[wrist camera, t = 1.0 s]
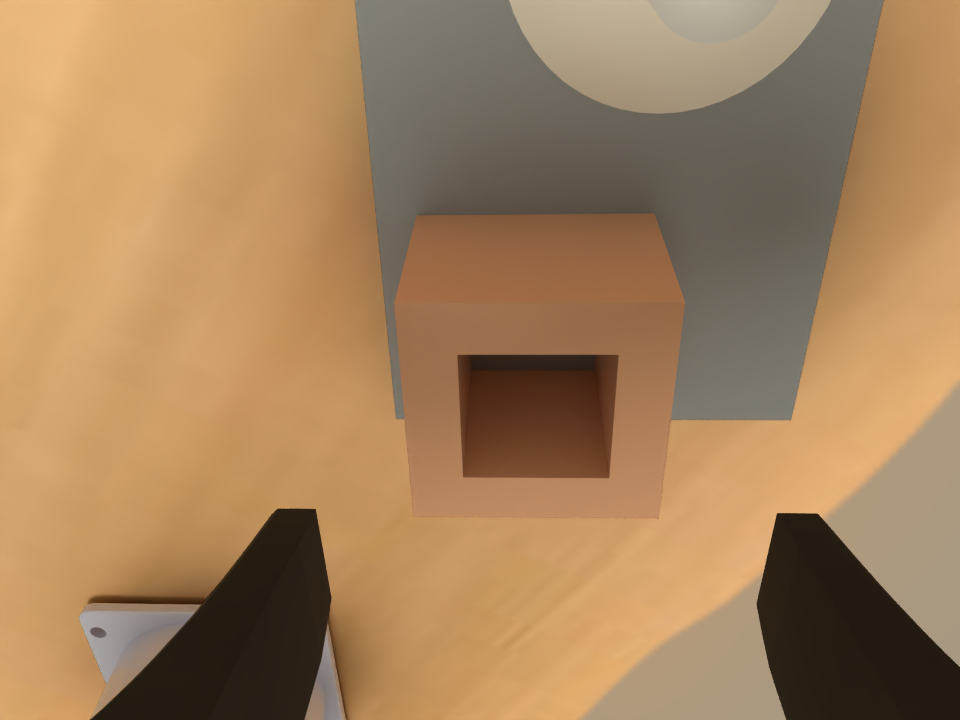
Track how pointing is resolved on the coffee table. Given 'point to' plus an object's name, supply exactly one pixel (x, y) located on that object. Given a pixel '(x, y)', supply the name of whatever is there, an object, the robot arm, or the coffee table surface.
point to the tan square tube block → (538, 393)
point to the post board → (633, 154)
